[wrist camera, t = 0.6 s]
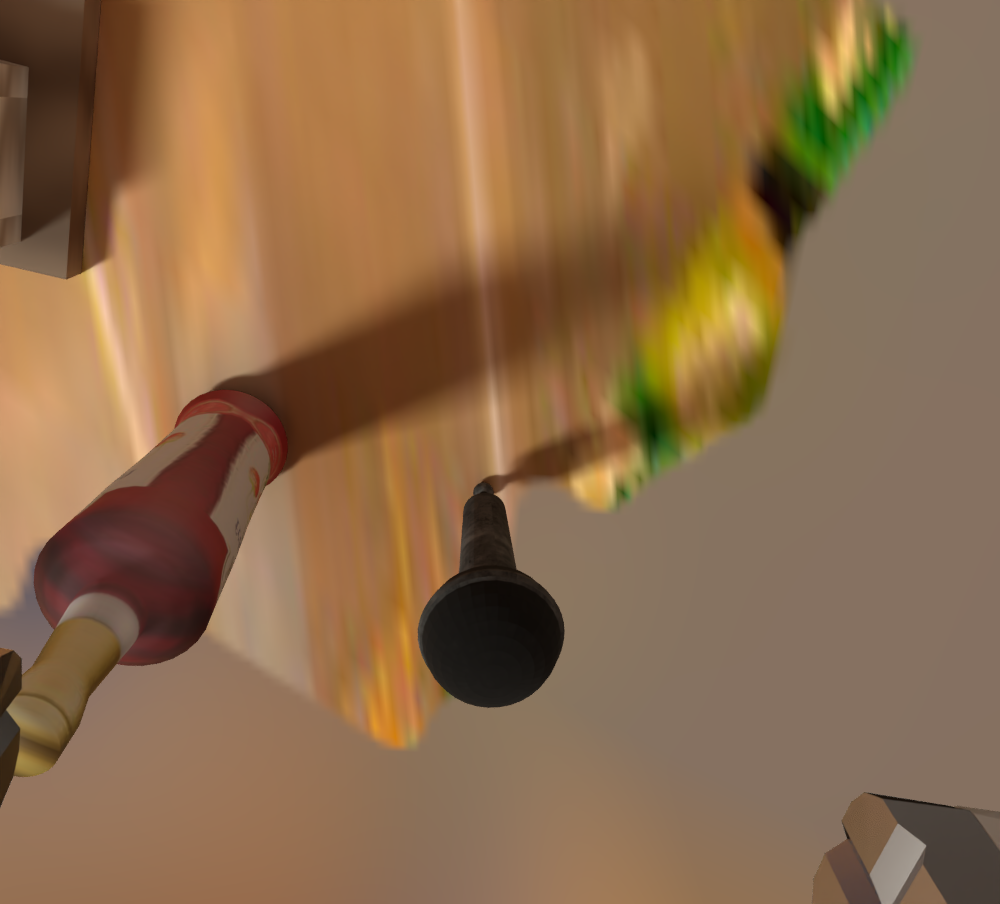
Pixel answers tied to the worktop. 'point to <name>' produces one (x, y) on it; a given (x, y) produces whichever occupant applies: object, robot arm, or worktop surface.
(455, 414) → the worktop surface
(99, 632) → the liquor
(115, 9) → the worktop surface
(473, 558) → the microphone
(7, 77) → the well board
